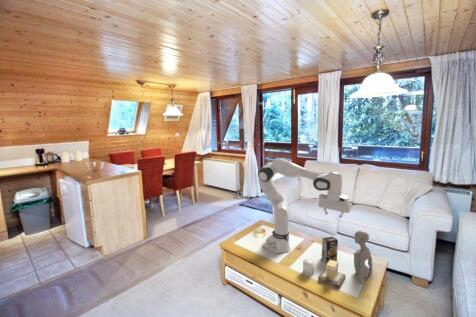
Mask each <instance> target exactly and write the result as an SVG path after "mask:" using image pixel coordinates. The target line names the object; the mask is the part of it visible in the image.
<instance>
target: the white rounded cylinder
mask: <svg viewBox="0 0 476 317" xmlns="http://www.w3.org/2000/svg"><path fill="white" fill-rule="evenodd" d="M302 262H303V263H302V273H303V274H304V275H306V276H310V277H311V276H313V275H314V273H315V261H314V260H313V259H312V258H304V259H303V260H302Z"/></svg>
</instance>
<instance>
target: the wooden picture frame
mask: <svg viewBox="0 0 476 317" xmlns="http://www.w3.org/2000/svg"><path fill="white" fill-rule="evenodd" d="M345 279H346V274H345V273H342V272H339V271H338V274H337V276H336V277H335V279H332V278H330V277H327V276H326V266H325V268H324V269H323V270H322V271H321V273H320V274H319V276H318V277H317V280H318V282H320V283H323V284H326V285H328V286H331V287H334V288H335V289H340V288H341V287H342V285H343V283H344V281H345Z"/></svg>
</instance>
